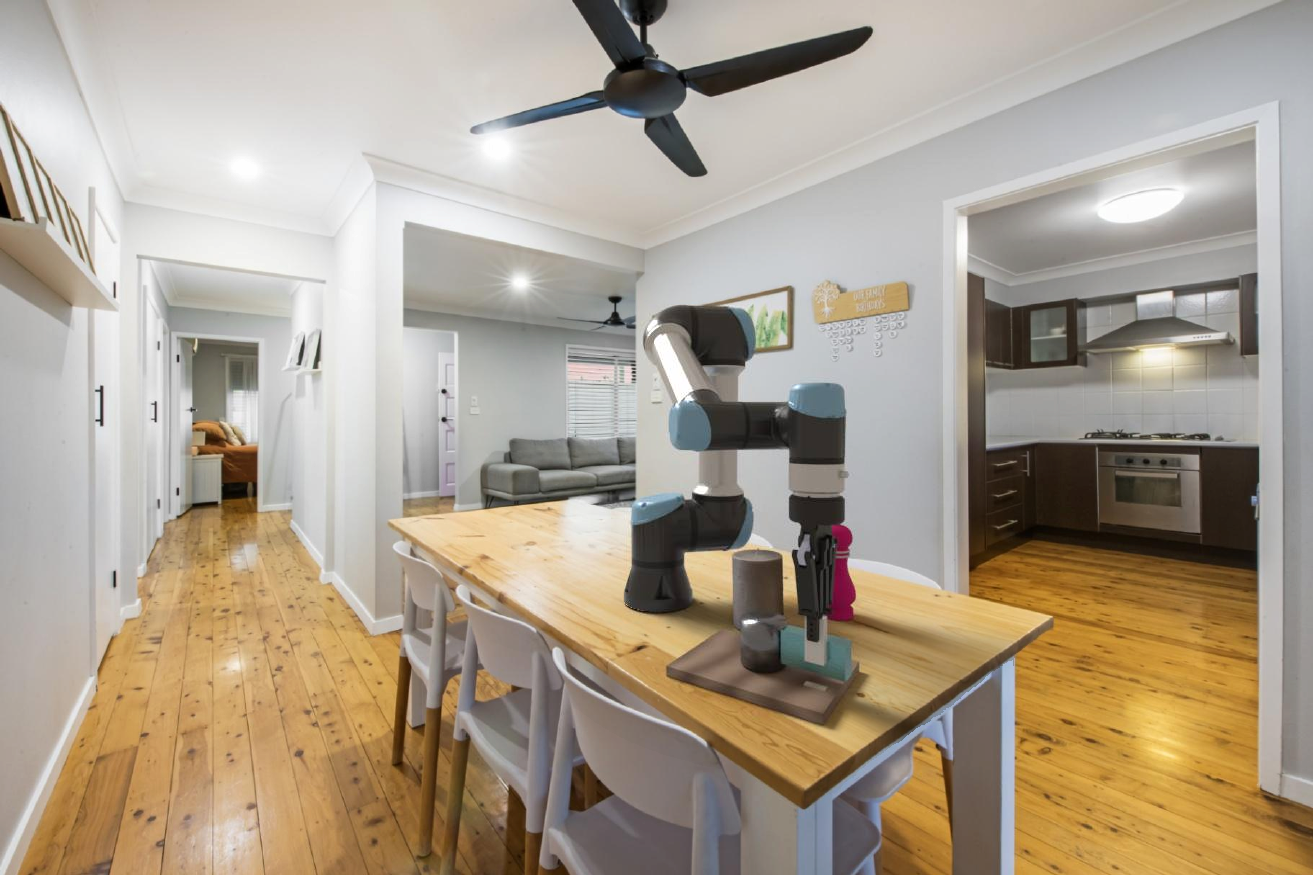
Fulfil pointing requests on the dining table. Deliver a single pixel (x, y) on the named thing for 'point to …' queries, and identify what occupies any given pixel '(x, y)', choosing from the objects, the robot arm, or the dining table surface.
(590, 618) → the dining table surface
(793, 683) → the base
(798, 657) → the cylinder with teal slab
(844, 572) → the pepper mill
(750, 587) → the pillar candle
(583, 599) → the dining table surface
